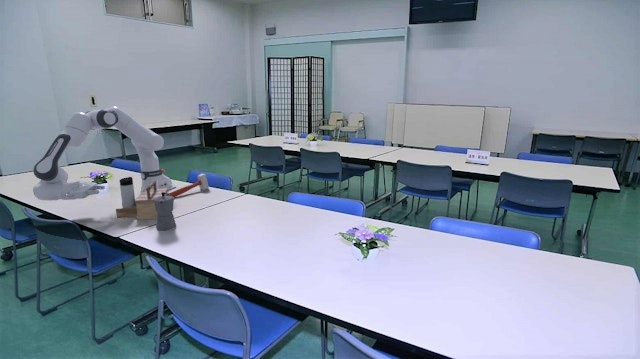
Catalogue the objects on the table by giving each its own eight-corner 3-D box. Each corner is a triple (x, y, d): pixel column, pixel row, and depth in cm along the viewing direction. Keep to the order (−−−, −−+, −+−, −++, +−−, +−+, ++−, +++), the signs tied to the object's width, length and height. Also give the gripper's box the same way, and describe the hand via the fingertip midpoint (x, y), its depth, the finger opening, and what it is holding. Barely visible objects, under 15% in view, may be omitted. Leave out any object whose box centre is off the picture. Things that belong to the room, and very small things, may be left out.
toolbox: (125, 208, 204) (122, 180, 200) (169, 205, 210) (166, 178, 206) (114, 221, 183) (110, 190, 179) (163, 218, 189) (160, 188, 185)
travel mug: (139, 212, 197) (135, 177, 192) (129, 216, 191) (125, 180, 186) (130, 211, 199) (126, 176, 194) (120, 214, 193) (116, 179, 188)
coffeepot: (174, 231, 171) (171, 195, 167) (153, 233, 169) (149, 196, 164) (179, 220, 185) (176, 187, 181) (159, 221, 183) (156, 188, 179)
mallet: (168, 190, 219) (206, 173, 243) (165, 189, 221) (202, 172, 245) (172, 206, 223) (209, 188, 247) (168, 205, 225) (205, 187, 249)
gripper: (62, 190, 174) (93, 188, 178) (78, 180, 193) (106, 179, 197) (63, 202, 176) (95, 200, 179) (79, 191, 195) (108, 190, 198)
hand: (101, 189), depth 188 cm, fingers open, 8 cm apart
